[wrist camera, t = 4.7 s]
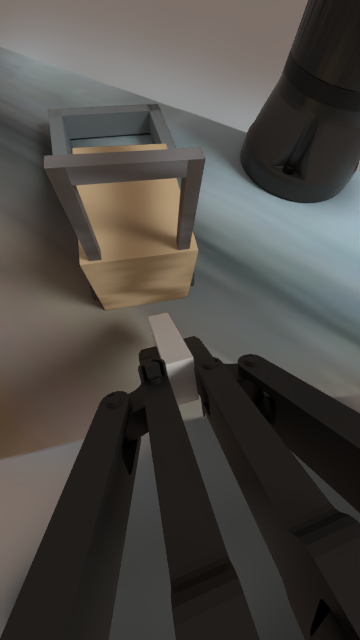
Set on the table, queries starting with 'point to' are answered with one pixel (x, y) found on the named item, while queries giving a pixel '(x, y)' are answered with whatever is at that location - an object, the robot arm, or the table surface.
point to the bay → (107, 125)
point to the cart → (132, 218)
